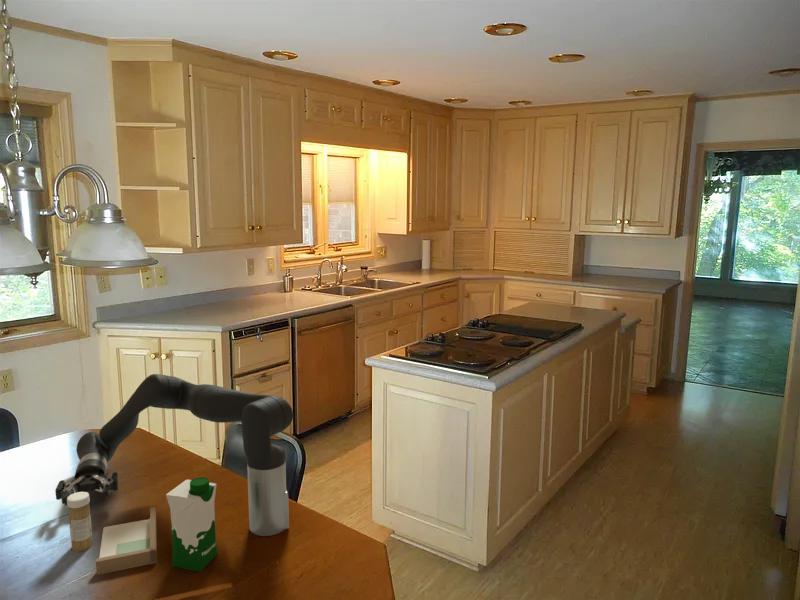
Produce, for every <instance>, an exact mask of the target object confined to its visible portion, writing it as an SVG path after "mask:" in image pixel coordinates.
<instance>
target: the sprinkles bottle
mask: <svg viewBox="0 0 800 600" xmlns="http://www.w3.org/2000/svg"><path fill="white" fill-rule="evenodd" d="M90 501H91V499H90V493H89V492H88V491H86V492H77V493H74V494H71V495H70V496H68V498H67V505H66V506H67V509H68V519H69V535H70V541H71V550H72V551H73V552H83V551H86V550H88V549H90V548H91V547H92V546H93V543H94V542H93V537H92V536H93V530H92V517H91V509H90Z"/></svg>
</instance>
